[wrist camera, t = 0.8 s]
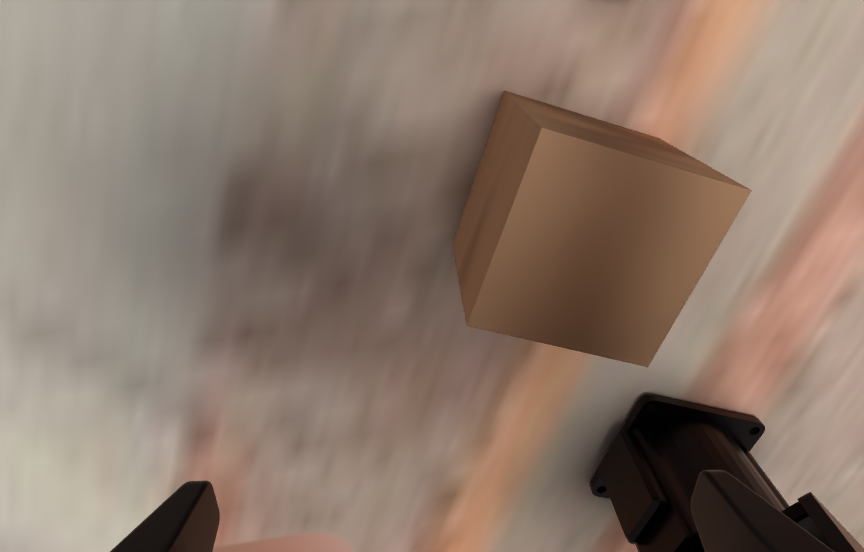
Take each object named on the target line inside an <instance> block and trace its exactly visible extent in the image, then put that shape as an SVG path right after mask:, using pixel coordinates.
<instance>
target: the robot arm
mask: <svg viewBox="0 0 864 552" xmlns="http://www.w3.org/2000/svg"><path fill="white" fill-rule="evenodd" d="M649 405H652V406H650V407H648V406H649ZM764 431H765V426H764V425H763V424H762V423H761V421H760V420H759V419H758V418H756V417H751V416H747V415H742V414H738V413H733V412H729V411H724V410H720V409H715V408H710V407H706V406H701V405H697V404H692V403H688V402H683V401H679V400H674V399H670V398H665V397H661V396H656V395H646V396H644V397H642V398H641V399H640V400H639V401H638V403H637V405H636V406H635V408H634V410H633V411H632V413H631V415H630V416H629V418H628V420H627V421H626V423H625V425H624V426H623V428H622V430H621V431H620V433H619V434H618V436H617V438H616V439H615V441H614V443H613V444H612V446H611V448H610V449H609V451H608V453H607V454H606V456H605V458H604V459H603V461H602V463H601V464H600V466H599V468H598V470H597V471H596V473H595V475H594V476H593V478H592V480H591V481H590V488H591V491H592V493H593V494H594V495H596V496H599V497H604V498H610V499H611V501H612V504H613V506H614V509H615V511H616V514H617V516H618V519H619V521H620V524H621V526H622V529H623V531H624V534H625V536H626V538H627V540H628V541H629V543H631V544H636V547H637V549H638V552H864V548H863V547H862V546H861V545H860V544H859V543H858V542H857V541H856V540H855V539H854V538H853V536H852V535H851V534H850V533H849V532H848V531H847V530H846V529H845V528H844V527H843V526H842V525H841V524H840V523H839V522H838V521H837V520H836V518H835V517H834V516H833V515H832V514H831V513H830V512H829V511H828V510H827V509H826V508H825V507H824V506H823V505H822V504H821V503H820V502H819V501H818V499H817V498H816V497H815V496H814V495H813V494H812V493H811V492H809V493H807V494H806V495H804V496H802V497H800V498H798V501H799V502H797V503H795V504H793V505H791V506H789V505H788V504H787V502H786V501H785V500H784V498H783V497H782V496H781V494H780V493H779V491H778V490H777V489H776V487H775V486H774V485H773V483H772V482H771V481H770V479H769V478H768V477H767V475H766V474H765V473H764V471H763V470H762V469H761V467H760V466H759V465H758V463H757V462H756V461H755V459H754V458H753V457H752V455H751V454H750V453H749V451H750V450H751V449H752V447H753V446H754V445H755V443H756V442H757V441H758V439H759V438H760V437H761V436H762V434H763V433H764ZM219 520H220V513H219V508H218V504H217V501H216V497H215V493H214V490H213V486H212V484H211V483H210V482H209V481H189V482H186V483H185V484H183V485H182V486H181V487H180V488H179V489H178V490H177V491H175V492H174V493H173V494H172V495H171V496H170V497H169V498H168V499H167V500H166V501H165V502H163V503H162V504H161V505H160V506H159V507H158V508H157V509H156V510H155V511H154V512H153V513H152V514H150V515H149V516H148V517H147V518H146V519H145V520H144V521H143V522H142V523H141V524H140V525H139V526H137V527H136V528H135V529H134V530H133V531H132V532H131V533H130V534H129V535H128V536H127V537H125V538H124V539H123V540H122V541H121V542H120V543H119V544H118V545H117V546H116V547H115V548H114V549H112V550H111V551H110V552H212V551H213V547H214V543H215V539H216V534H217V530H218V526H219Z"/></svg>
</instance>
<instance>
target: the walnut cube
mask: <svg viewBox="0 0 864 552" xmlns="http://www.w3.org/2000/svg"><path fill="white" fill-rule="evenodd" d="M751 191H752V190H750V189H748V188H746V187H744V186H743V185H741V184H739V183H737V182H736V181H734V180H732V179H730V178H728V177H727V176H725V175H723V174H721V173H720V172H718V171H716V170H714V169H712V168H711V167H709V166H707V165H705V164H704V163H702V162H700V161H698V160H697V159H695V158H693V157H691V156H689V155H688V154H686V153H684V152H682V151H681V150H679V149H677V148H675V147H673V146H672V145H670V144H668V143H666V142H665V141H663V140H661V139H659V138H656V137H653V136H650V135H647V134H643V133H640V132H637V131H634V130H630V129H627V128H624V127H621V126H617V125H614V124H611V123H608V122H604V121H601V120H598V119H595V118H591V117H588V116H585V115H582V114H579V113H575V112H572V111H569V110H566V109H562V108H559V107H556V106H553V105H549V104H546V103H543V102H540V101H536V100H533V99H530V98H527V97H523V96H520V95H517V94H514V93H510V92H507V91H504V93H503V96H502V99H501V102H500V105H499V108H498V111H497V114H496V117H495V119H494V122H493V125H492V128H491V131H490V134H489V137H488V140H487V143H486V146H485V149H484V152H483V155H482V158H481V161H480V164H479V167H478V170H477V173H476V176H475V179H474V182H473V185H472V188H471V191H470V193H469V196H468V199H467V202H466V205H465V208H464V211H463V214H462V217H461V220H460V223H459V226H458V229H457V232H456V235H455V238H454V241H453V249H454V255H455V261H456V266H457V272H458V278H459V284H460V289H461V295H462V301H463V307H464V313H465V318H466V324H467V326H471V327H475V328H479V329H484V330H488V331H492V332H497V333H501V334H506V335H510V336H514V337H519V338H523V339H527V340H532V341H536V342H540V343H545V344H549V345H554V346H558V347H562V348H567V349H571V350H575V351H580V352H584V353H588V354H593V355H597V356H602V357H606V358H610V359H615V360H619V361H623V362H628V363H632V364H636V365H641V366H645V367H648V366H649V364H650V362H651V361H652V359H653V357H654V356H655V354H656V352H657V351H658V349H659V347H660V345H661V344H662V342H663V340H664V339H665V337H666V335H667V334H668V332H669V330H670V328H671V327H672V325H673V323H674V322H675V320H676V318H677V317H678V315H679V313H680V311H681V310H682V308H683V306H684V305H685V303H686V301H687V300H688V298H689V296H690V294H691V293H692V291H693V289H694V288H695V286H696V284H697V282H698V281H699V279H700V277H701V276H702V274H703V272H704V271H705V269H706V267H707V265H708V264H709V262H710V260H711V259H712V257H713V255H714V254H715V252H716V250H717V248H718V247H719V245H720V243H721V242H722V240H723V238H724V237H725V235H726V233H727V231H728V230H729V228H730V226H731V225H732V223H733V221H734V220H735V218H736V216H737V214H738V213H739V211H740V209H741V208H742V206H743V204H744V203H745V201H746V199H747V197H748V196H749V194H750V192H751Z"/></svg>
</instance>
